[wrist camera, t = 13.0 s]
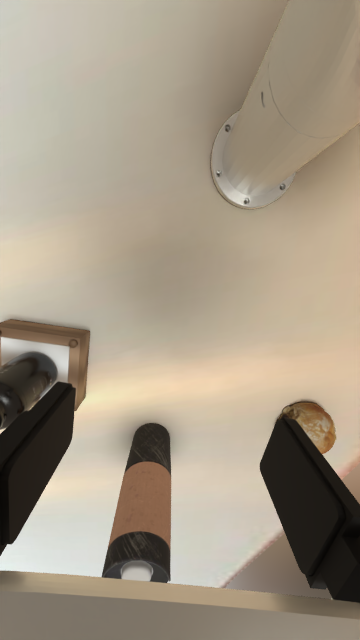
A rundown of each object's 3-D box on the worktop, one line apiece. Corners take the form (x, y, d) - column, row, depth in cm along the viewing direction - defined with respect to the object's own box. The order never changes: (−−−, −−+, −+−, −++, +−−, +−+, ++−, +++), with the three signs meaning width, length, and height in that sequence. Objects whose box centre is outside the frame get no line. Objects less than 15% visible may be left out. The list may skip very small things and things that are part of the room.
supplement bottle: (11, 384, 34) (-74, 446, 22) (16, 345, 32) (-71, 390, 21) (55, 394, 34) (-4, 460, 23) (62, 357, 33) (3, 407, 21)
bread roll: (291, 385, 45) (298, 400, 37) (342, 416, 42) (361, 439, 34) (266, 422, 47) (267, 443, 39) (313, 453, 44) (324, 483, 36)
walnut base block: (10, 319, 35) (-12, 326, 31) (90, 330, 36) (78, 339, 32) (12, 387, 38) (-9, 403, 34) (85, 396, 39) (74, 413, 35)
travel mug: (126, 429, 42) (86, 573, 22) (162, 416, 41) (153, 550, 22) (142, 458, 43) (119, 613, 24) (177, 446, 43) (181, 593, 24)
